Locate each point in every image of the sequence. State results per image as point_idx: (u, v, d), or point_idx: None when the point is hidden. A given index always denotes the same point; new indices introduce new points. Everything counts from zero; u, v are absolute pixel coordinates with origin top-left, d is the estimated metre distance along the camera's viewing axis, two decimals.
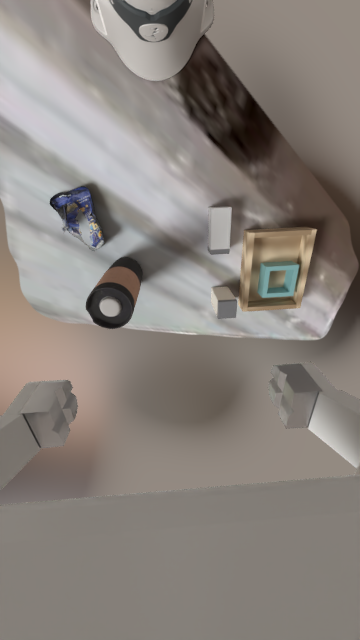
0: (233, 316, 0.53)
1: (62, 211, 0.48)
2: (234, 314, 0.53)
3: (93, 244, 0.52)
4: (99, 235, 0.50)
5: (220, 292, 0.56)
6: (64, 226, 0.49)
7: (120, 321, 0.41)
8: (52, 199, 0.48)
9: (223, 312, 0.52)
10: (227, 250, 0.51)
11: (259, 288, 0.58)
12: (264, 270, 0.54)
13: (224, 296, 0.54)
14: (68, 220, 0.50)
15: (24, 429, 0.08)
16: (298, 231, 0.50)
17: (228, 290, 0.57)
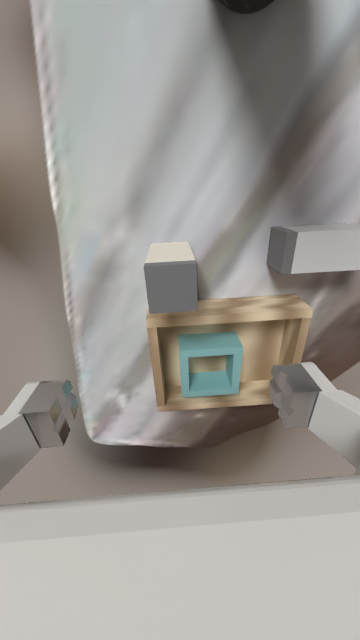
0: (153, 308, 0.20)
1: None
2: (158, 309, 0.20)
3: None
4: None
5: None
6: None
7: None
8: None
9: (164, 280, 0.19)
10: (287, 270, 0.24)
11: (190, 339, 0.30)
12: (232, 342, 0.28)
13: None
14: None
15: (24, 429, 0.08)
16: None
17: None
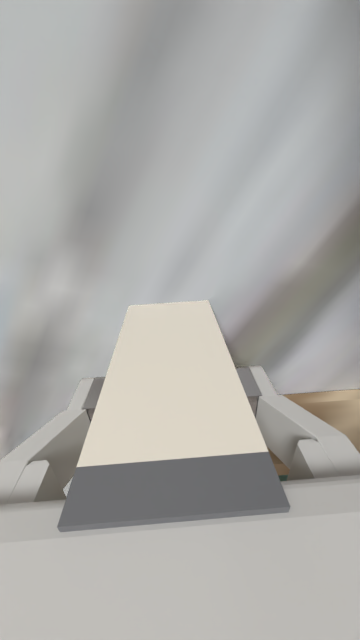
0: None
1: None
2: None
3: None
4: None
5: None
6: None
7: None
8: None
9: None
10: None
11: None
12: None
13: None
14: None
15: (87, 424, 0.08)
16: None
17: None
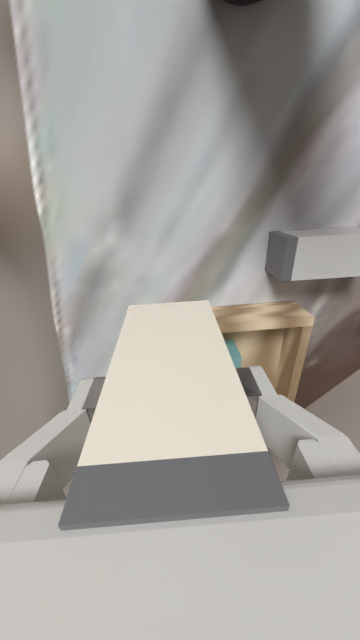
0: None
1: None
2: None
3: None
4: None
5: None
6: None
7: None
8: None
9: None
10: (287, 276, 0.23)
11: None
12: (230, 352, 0.27)
13: None
14: None
15: (87, 424, 0.08)
16: (295, 391, 0.29)
17: None
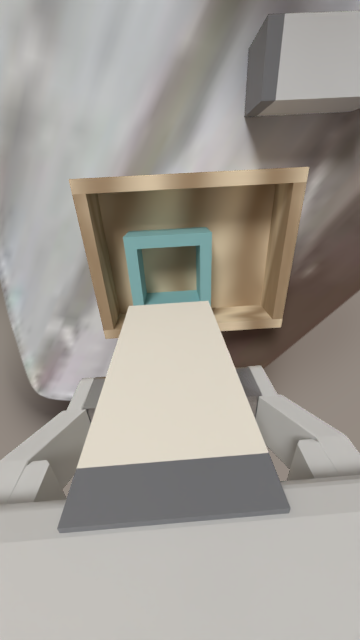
0: None
1: None
2: None
3: None
4: None
5: None
6: None
7: None
8: None
9: None
10: (271, 92, 0.16)
11: (143, 232, 0.22)
12: (198, 231, 0.21)
13: None
14: None
15: (86, 424, 0.08)
16: (284, 292, 0.23)
17: None
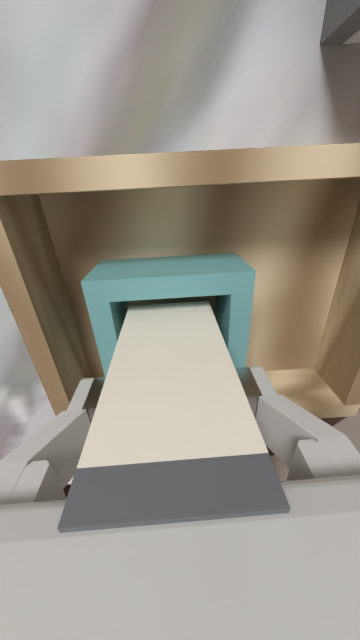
0: None
1: None
2: None
3: None
4: None
5: None
6: None
7: None
8: None
9: None
10: None
11: (124, 264, 0.12)
12: (227, 266, 0.11)
13: None
14: None
15: (87, 424, 0.08)
16: None
17: None
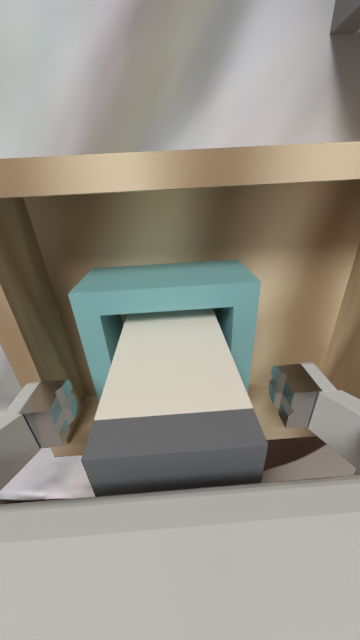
0: None
1: None
2: None
3: None
4: None
5: None
6: None
7: None
8: None
9: (155, 484, 0.06)
10: None
11: (117, 273, 0.11)
12: (229, 275, 0.10)
13: None
14: None
15: (24, 429, 0.08)
16: None
17: None
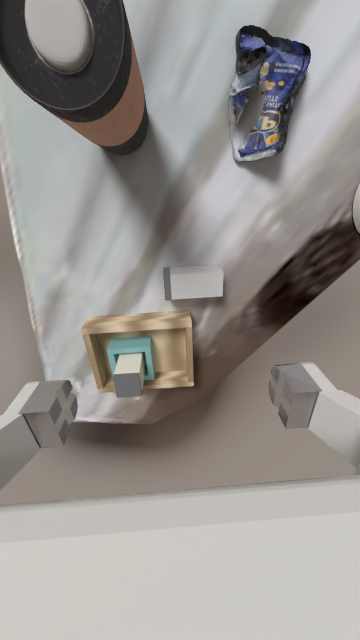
0: (119, 395, 0.38)
1: (249, 60, 0.27)
2: (121, 395, 0.39)
3: (243, 150, 0.32)
4: (268, 141, 0.30)
5: (142, 362, 0.42)
6: (235, 87, 0.27)
7: (15, 61, 0.14)
8: (242, 31, 0.27)
9: (123, 383, 0.37)
10: (169, 297, 0.37)
11: (117, 341, 0.43)
12: (144, 343, 0.42)
13: (141, 373, 0.40)
14: None
15: (24, 429, 0.08)
16: (192, 370, 0.44)
17: (144, 368, 0.44)
